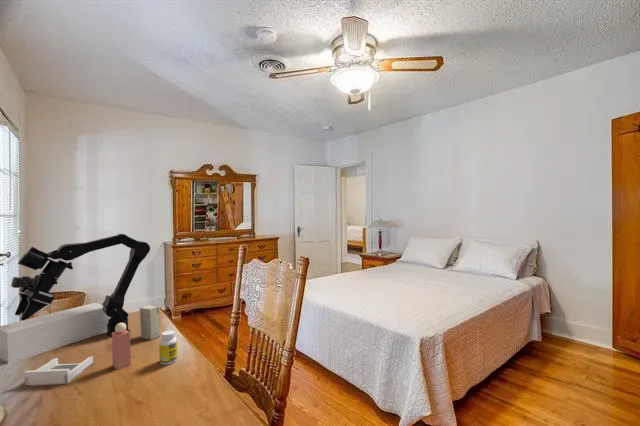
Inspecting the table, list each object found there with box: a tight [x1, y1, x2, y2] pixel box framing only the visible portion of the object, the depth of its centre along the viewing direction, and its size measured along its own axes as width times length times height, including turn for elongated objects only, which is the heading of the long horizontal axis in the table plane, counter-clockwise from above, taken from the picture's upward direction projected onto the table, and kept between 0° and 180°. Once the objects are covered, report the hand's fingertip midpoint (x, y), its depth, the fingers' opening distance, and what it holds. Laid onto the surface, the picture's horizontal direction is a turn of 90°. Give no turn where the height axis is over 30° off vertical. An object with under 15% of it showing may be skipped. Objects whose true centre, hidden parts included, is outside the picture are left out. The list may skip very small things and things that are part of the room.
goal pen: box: [23, 356, 94, 386], centre depth 101 cm, size 12×12×4 cm
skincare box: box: [139, 304, 161, 340], centre depth 129 cm, size 6×4×12 cm
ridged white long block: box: [0, 302, 110, 364], centre depth 125 cm, size 32×11×11 cm, turn 151°
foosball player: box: [111, 323, 132, 370], centre depth 106 cm, size 4×4×14 cm
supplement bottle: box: [158, 329, 178, 365], centre depth 109 cm, size 5×5×10 cm
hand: (19, 317), depth 111 cm, fingers open, 9 cm apart
